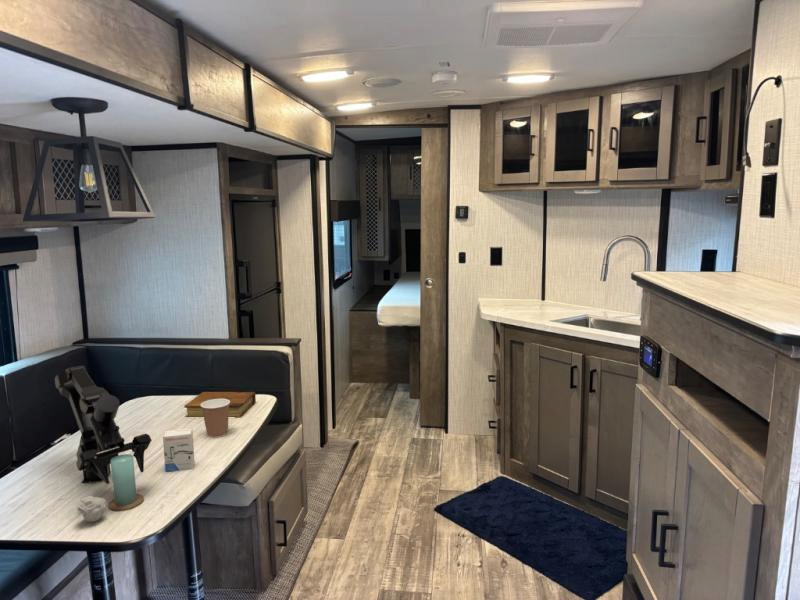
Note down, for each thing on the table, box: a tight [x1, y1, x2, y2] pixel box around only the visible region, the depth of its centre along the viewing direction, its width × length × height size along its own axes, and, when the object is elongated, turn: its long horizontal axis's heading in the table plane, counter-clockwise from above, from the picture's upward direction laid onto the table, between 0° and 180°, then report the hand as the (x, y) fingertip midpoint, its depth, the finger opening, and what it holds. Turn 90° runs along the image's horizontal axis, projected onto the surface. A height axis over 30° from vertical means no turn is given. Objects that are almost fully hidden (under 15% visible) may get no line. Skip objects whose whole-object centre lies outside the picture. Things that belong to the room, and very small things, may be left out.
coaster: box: [107, 492, 145, 512], centre depth 155 cm, size 9×9×1 cm
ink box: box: [162, 428, 195, 473], centre depth 177 cm, size 9×5×12 cm, turn 105°
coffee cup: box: [201, 399, 230, 438], centre depth 204 cm, size 10×10×12 cm
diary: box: [183, 391, 257, 419], centre depth 232 cm, size 23×19×6 cm
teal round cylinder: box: [110, 453, 137, 506], centre depth 154 cm, size 6×6×12 cm
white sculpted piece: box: [76, 495, 107, 523], centre depth 146 cm, size 6×7×7 cm
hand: (125, 477), depth 153 cm, fingers open, 9 cm apart
